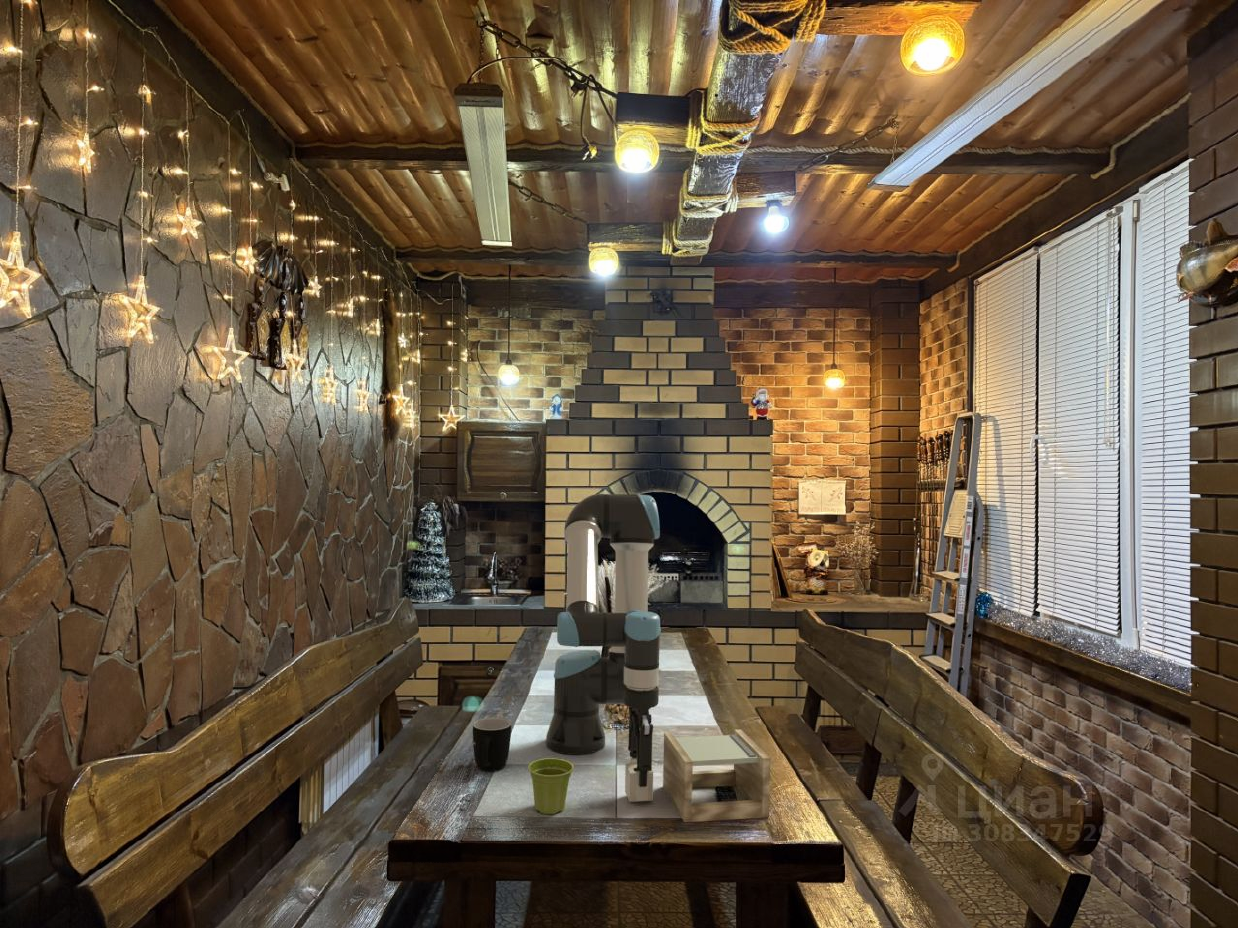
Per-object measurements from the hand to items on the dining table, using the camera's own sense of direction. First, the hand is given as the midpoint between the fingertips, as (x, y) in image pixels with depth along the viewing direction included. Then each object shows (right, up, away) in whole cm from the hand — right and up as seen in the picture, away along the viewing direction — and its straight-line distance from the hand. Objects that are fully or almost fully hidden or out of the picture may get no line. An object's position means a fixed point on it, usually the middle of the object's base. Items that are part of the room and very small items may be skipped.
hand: (638, 793), depth 165 cm
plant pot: (-18, -1, -5) cm, 19 cm away
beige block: (0, 0, 0) cm, 0 cm away
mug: (-34, -1, +15) cm, 38 cm away
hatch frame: (+16, -2, 0) cm, 16 cm away
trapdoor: (+16, +9, 0) cm, 19 cm away
